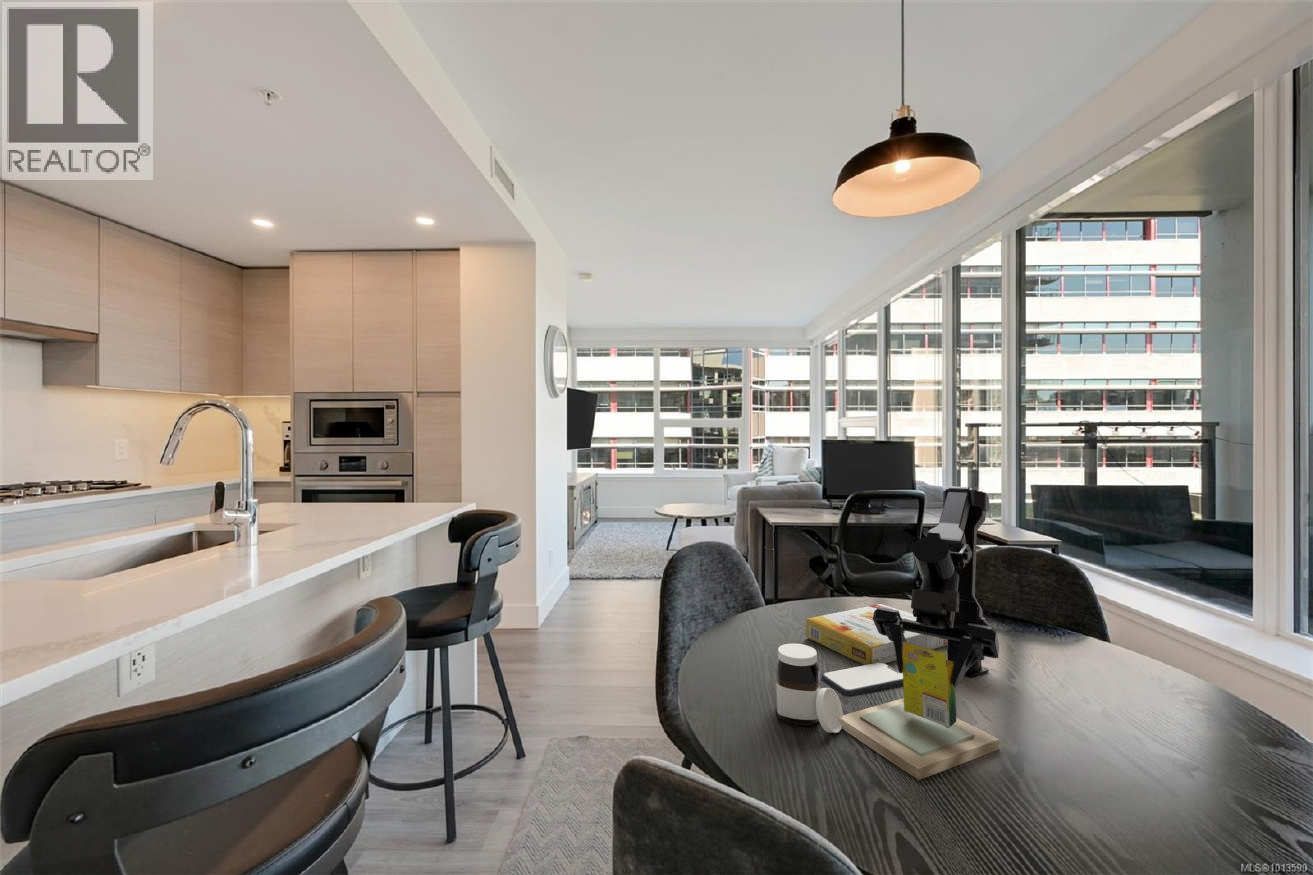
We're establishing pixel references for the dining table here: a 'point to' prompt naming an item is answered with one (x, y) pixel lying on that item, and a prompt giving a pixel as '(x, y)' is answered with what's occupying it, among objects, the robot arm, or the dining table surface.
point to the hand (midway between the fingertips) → (926, 678)
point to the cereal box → (863, 635)
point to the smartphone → (864, 678)
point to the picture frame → (917, 739)
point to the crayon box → (928, 685)
